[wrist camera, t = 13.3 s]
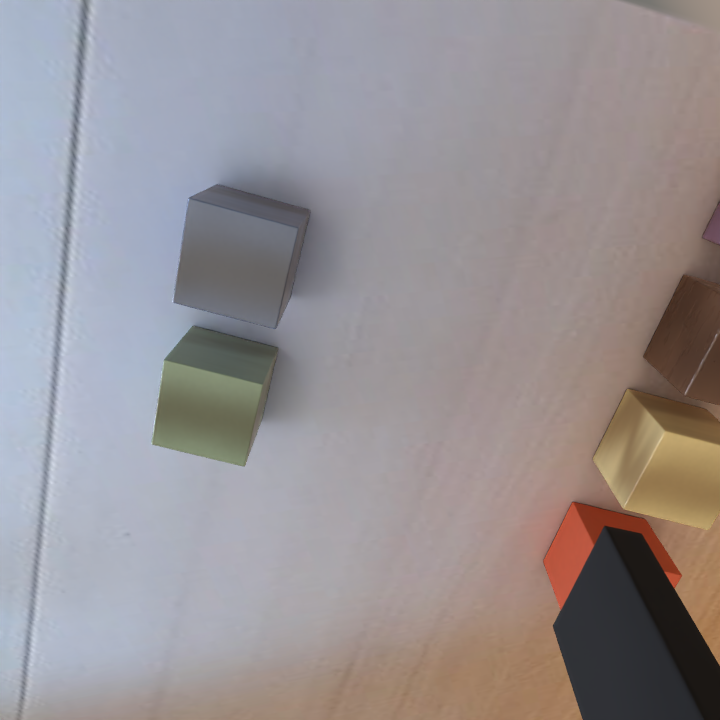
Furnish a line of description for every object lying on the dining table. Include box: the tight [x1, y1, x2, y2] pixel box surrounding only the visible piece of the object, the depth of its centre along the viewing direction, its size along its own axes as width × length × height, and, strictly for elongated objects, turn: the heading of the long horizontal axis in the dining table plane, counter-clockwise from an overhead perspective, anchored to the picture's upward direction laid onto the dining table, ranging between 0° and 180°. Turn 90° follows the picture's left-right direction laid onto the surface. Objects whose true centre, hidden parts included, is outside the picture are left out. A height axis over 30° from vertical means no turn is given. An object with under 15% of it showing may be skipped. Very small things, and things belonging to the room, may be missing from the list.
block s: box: [543, 502, 682, 609], centre depth 37 cm, size 5×5×5 cm
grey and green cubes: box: [151, 184, 310, 466], centre depth 31 cm, size 13×5×5 cm, turn 165°
